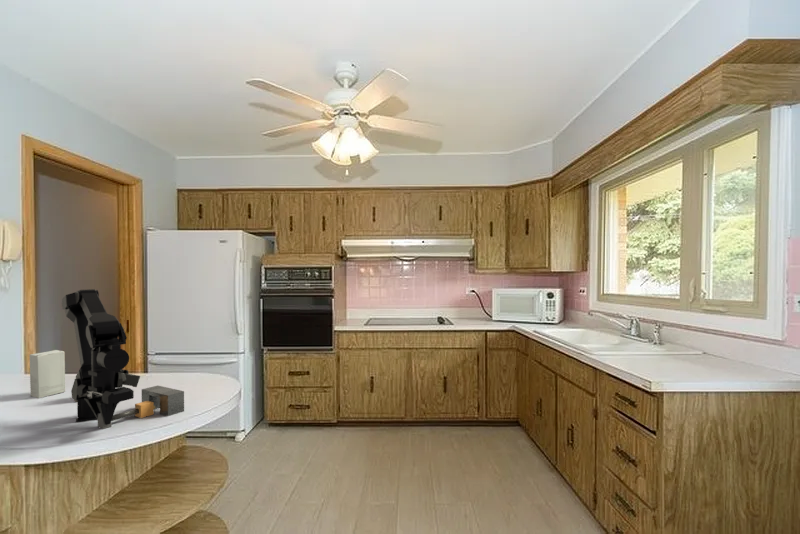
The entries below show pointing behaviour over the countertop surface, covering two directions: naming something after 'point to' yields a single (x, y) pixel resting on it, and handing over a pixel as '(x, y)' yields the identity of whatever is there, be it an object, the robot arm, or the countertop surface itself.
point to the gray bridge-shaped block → (165, 399)
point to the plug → (131, 413)
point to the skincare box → (47, 373)
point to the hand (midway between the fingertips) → (104, 423)
